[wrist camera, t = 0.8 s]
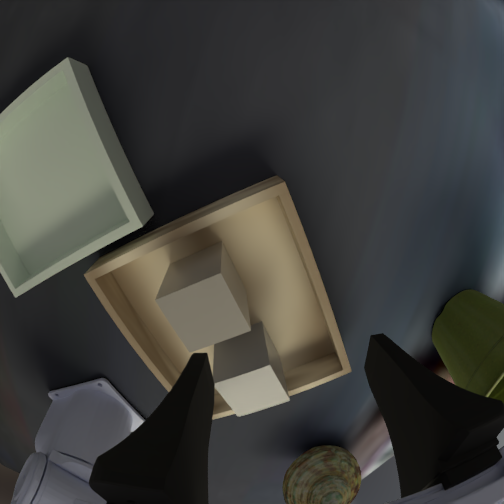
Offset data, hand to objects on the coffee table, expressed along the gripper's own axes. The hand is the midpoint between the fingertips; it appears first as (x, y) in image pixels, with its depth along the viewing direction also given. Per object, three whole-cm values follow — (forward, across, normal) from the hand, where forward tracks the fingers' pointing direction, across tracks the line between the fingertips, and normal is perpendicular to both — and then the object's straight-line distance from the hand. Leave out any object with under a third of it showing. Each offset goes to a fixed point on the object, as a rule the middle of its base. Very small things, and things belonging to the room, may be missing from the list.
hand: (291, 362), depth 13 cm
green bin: (+10, +16, -8) cm, 20 cm away
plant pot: (+11, -19, +9) cm, 24 cm away
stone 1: (+9, +4, 0) cm, 10 cm away
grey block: (+9, +2, +7) cm, 12 cm away
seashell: (+10, -5, +28) cm, 30 cm away
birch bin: (+10, +3, +4) cm, 11 cm away
